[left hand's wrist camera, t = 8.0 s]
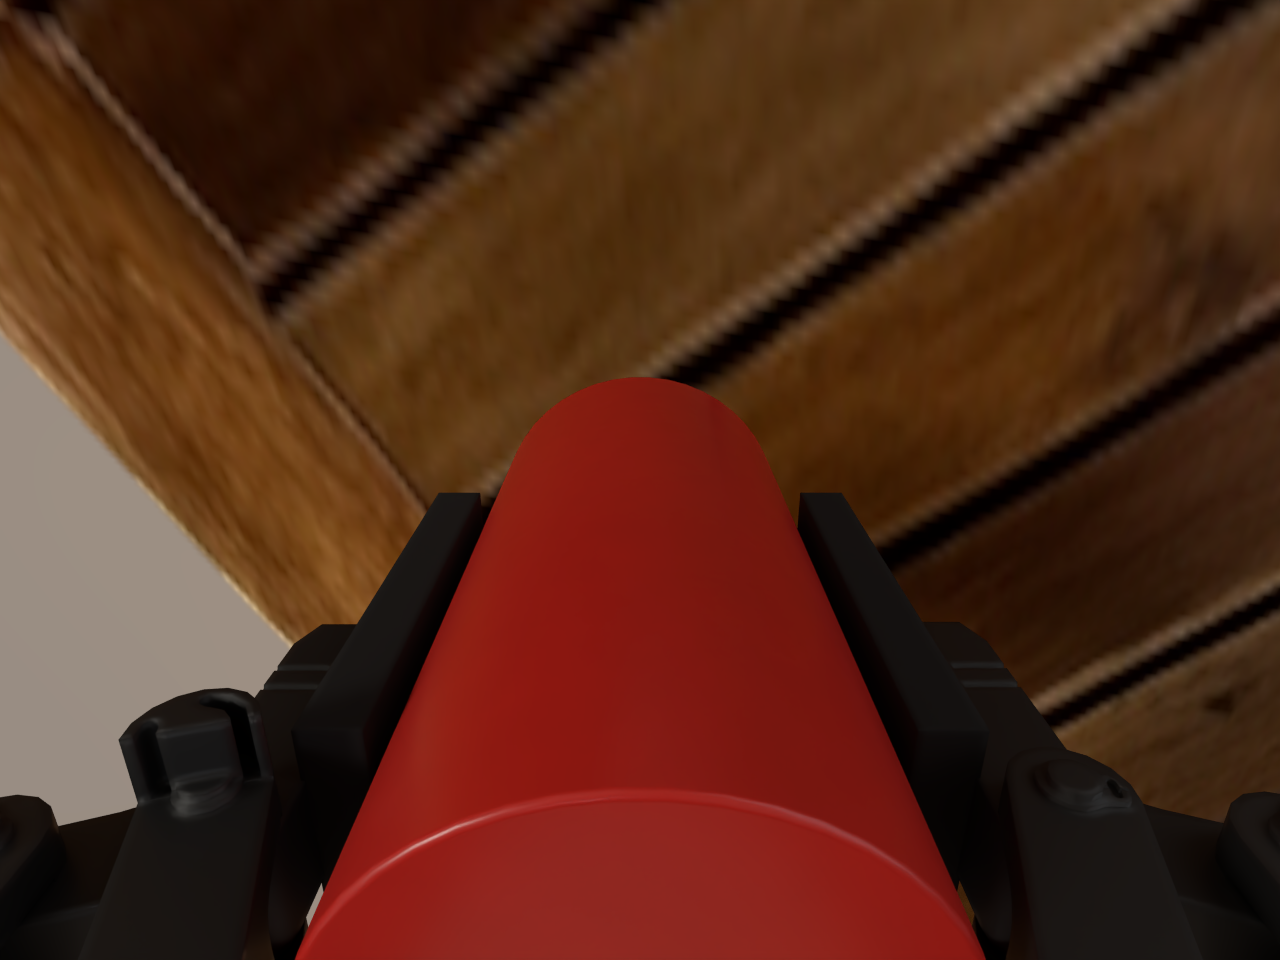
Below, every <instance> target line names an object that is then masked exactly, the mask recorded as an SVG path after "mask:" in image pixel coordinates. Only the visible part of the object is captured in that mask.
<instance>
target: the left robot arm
mask: <svg viewBox="0 0 1280 960" xmlns="http://www.w3.org/2000/svg"><path fill="white" fill-rule="evenodd" d="M482 530H483V522H482V510H481V498H480V493H439V494H438V495H437V497H436V498H435V500H434V502H433V503H432V505H431V506H430V508H429V510H428V511H427V513H426V514H425V516H424V518H423V519H422V521H421V523H420V524H419V526H418V527H417V529H416V531H415V532H414V534H413V535H412V537H411V539H410V540H409V542H408V543H407V545H406V547H405V548H404V550H403V551H402V553H401V555H400V556H399V558H398V559H397V561H396V563H395V564H394V566H393V567H392V569H391V571H390V572H389V574H388V575H387V577H386V579H385V580H384V582H383V583H382V585H381V587H380V588H379V590H378V591H377V593H376V595H375V596H374V598H373V599H372V601H371V603H370V604H369V606H368V607H367V609H366V611H365V612H364V614H363V615H362V617H361V619H360V620H359V622H358V623H357V624H322V625H320V626H319V627H318V628H316V629H315V630H313V631H312V632H310V633H309V634H308V635H306V636H305V637H303V638H302V639H300V640H299V641H297V642H296V643H295V644H294V645H293V646H292V647H291V649H290V650H289V652H288V653H287V654H286V656H285V657H284V658H283V660H282V661H281V662H280V664H279V665H278V670H277V671H274V672H273V673H272V675H271V676H270V677H269V679H268V680H267V682H266V683H265V684H264V689H263V690H260V691H259V693H258V694H257V695H256V697H255V698H254V697H253V696H252V695H250V694H249V693H248V692H245V691H240V690H235V689H231V688H220V689H204V690H200V691H197V692H192V693H189V694H185V695H181V696H177V697H175V698H173V699H171V700H169V701H166V702H164V703H162V704H160V705H158V706H156V707H153V708H152V709H150V710H149V711H147V712H146V713H145V714H143V715H142V716H141V717H139V718H138V719H136V720H135V721H134V722H132V723H131V724H130V726H129V727H128V728H127V730H126V731H125V732H124V734H123V735H122V736H121V737H120V739H119V743H120V746H121V749H122V753H123V756H124V759H125V763H126V766H127V769H128V772H129V776H130V779H131V782H132V785H133V789H134V792H135V795H136V798H137V802H138V804H137V807H136V808H132V809H129V810H126V811H122V812H119V813H114V814H110V815H106V816H101V817H97V818H92V819H88V820H84V821H79V822H75V823H70V824H66V825H62V826H58V825H57V822H56V819H55V817H54V814H53V811H52V808H51V806H50V805H48V804H47V803H46V802H44V801H43V800H42V799H40V798H39V797H33V796H24V795H12V796H6V797H0V960H295V958H296V955H297V952H298V950H299V948H300V945H301V943H302V941H303V939H304V936H305V934H306V932H307V929H308V924H307V920H306V916H307V914H308V912H309V910H310V907H311V905H312V903H313V901H314V898H315V896H316V894H317V892H318V889H319V887H320V885H321V883H322V887H323V892H324V891H325V888H326V886H327V884H328V881H329V879H330V877H331V875H332V872H333V870H334V868H335V866H336V863H337V861H338V859H339V856H340V854H341V852H342V850H343V847H344V845H345V843H346V840H347V838H348V836H349V834H350V831H351V829H352V827H353V824H354V822H355V820H356V818H357V815H358V813H359V811H360V809H361V806H362V804H363V802H364V799H365V797H366V795H367V793H368V790H369V788H370V786H371V783H372V781H373V779H374V777H375V774H376V772H377V770H378V767H379V765H380V763H381V761H382V758H383V756H384V754H385V751H386V749H387V747H388V745H389V742H390V740H391V738H392V736H393V733H394V731H395V729H396V726H397V724H398V722H399V720H400V717H401V715H402V713H403V710H404V708H405V706H406V704H407V701H408V699H409V697H410V694H411V692H412V690H413V688H414V685H415V683H416V681H417V678H418V676H419V674H420V672H421V669H422V667H423V665H424V663H425V660H426V658H427V656H428V653H429V651H430V649H431V647H432V644H433V642H434V640H435V637H436V635H437V633H438V631H439V628H440V626H441V624H442V621H443V619H444V617H445V615H446V612H447V610H448V608H449V606H450V603H451V601H452V599H453V596H454V594H455V592H456V590H457V587H458V585H459V583H460V580H461V578H462V576H463V574H464V571H465V569H466V567H467V564H468V562H469V560H470V558H471V555H472V553H473V551H474V548H475V546H476V544H477V542H478V539H479V537H480V535H481V533H482ZM797 530H798V532H799V534H800V536H801V539H802V541H803V543H804V546H805V548H806V550H807V552H808V555H809V557H810V559H811V561H812V564H813V566H814V568H815V571H816V573H817V575H818V577H819V580H820V582H821V584H822V586H823V589H824V591H825V593H826V596H827V598H828V600H829V602H830V605H831V607H832V609H833V611H834V614H835V616H836V618H837V621H838V623H839V625H840V627H841V630H842V632H843V634H844V637H845V639H846V641H847V643H848V646H849V648H850V650H851V652H852V655H853V657H854V659H855V662H856V664H857V666H858V668H859V671H860V673H861V675H862V677H863V680H864V682H865V684H866V687H867V689H868V691H869V693H870V696H871V698H872V700H873V702H874V705H875V707H876V709H877V712H878V714H879V716H880V718H881V721H882V723H883V725H884V727H885V730H886V732H887V734H888V737H889V739H890V741H891V743H892V746H893V748H894V750H895V753H896V755H897V757H898V759H899V762H900V764H901V766H902V768H903V771H904V773H905V775H906V778H907V780H908V782H909V784H910V787H911V789H912V791H913V793H914V796H915V798H916V800H917V803H918V805H919V807H920V809H921V812H922V814H923V816H924V818H925V821H926V823H927V825H928V828H929V830H930V832H931V834H932V837H933V839H934V841H935V843H936V846H937V848H938V850H939V853H940V855H941V857H942V859H943V862H944V864H945V866H946V869H947V871H948V873H949V875H950V878H951V880H952V882H953V884H954V887H955V889H956V891H957V889H958V884H959V880H960V882H961V885H962V887H963V889H964V891H965V893H966V896H967V898H968V900H969V902H970V905H971V907H972V909H973V911H974V913H975V915H974V919H973V924H972V928H973V930H974V932H975V934H976V937H977V939H978V941H979V944H980V946H981V948H982V950H983V953H984V956H985V958H986V960H1280V794H1277V793H1270V792H1257V793H1248V794H1243V795H1241V796H1240V797H1239V798H1237V799H1236V800H1235V801H1233V802H1232V803H1231V805H1230V807H1229V810H1228V813H1227V816H1226V818H1225V821H1224V823H1220V822H1215V821H1211V820H1207V819H1202V818H1198V817H1193V816H1189V815H1185V814H1180V813H1176V812H1171V811H1167V810H1162V809H1159V808H1156V807H1152V806H1149V805H1145V804H1143V803H1142V801H1141V800H1140V798H1139V797H1138V795H1137V794H1136V792H1135V791H1134V789H1133V787H1132V786H1131V784H1129V783H1128V782H1127V781H1126V780H1124V779H1123V778H1122V777H1121V776H1120V775H1118V774H1117V773H1116V772H1115V771H1114V770H1112V769H1111V768H1109V767H1108V766H1106V765H1104V764H1102V763H1100V762H1098V761H1096V760H1094V759H1092V758H1090V757H1088V756H1086V755H1083V754H1079V753H1076V752H1072V751H1069V750H1067V749H1066V748H1065V747H1064V745H1063V744H1062V743H1061V741H1060V740H1059V739H1058V737H1057V736H1056V735H1055V733H1054V732H1053V730H1052V729H1051V728H1050V726H1049V725H1048V724H1047V722H1046V721H1045V720H1044V718H1043V717H1042V716H1041V714H1040V713H1039V711H1038V710H1037V709H1036V707H1035V706H1034V705H1033V703H1032V702H1031V701H1030V699H1029V698H1028V697H1027V695H1026V694H1025V692H1024V691H1023V690H1022V688H1021V687H1017V682H1016V680H1015V679H1014V678H1013V676H1012V675H1011V673H1010V672H1009V671H1008V669H1007V668H1004V667H1003V663H1002V661H1001V660H1000V658H999V657H998V656H997V654H996V653H995V652H994V650H993V649H992V648H991V646H990V645H989V644H988V642H987V641H986V640H984V639H983V638H981V637H980V636H978V635H977V634H975V633H974V632H973V631H971V630H970V629H968V628H967V627H965V626H964V625H962V624H961V623H960V622H922V621H921V619H920V618H919V616H918V615H917V613H916V611H915V610H914V608H913V607H912V605H911V603H910V602H909V600H908V599H907V597H906V595H905V594H904V592H903V591H902V589H901V587H900V586H899V584H898V583H897V581H896V579H895V578H894V576H893V575H892V573H891V571H890V570H889V568H888V567H887V565H886V563H885V562H884V560H883V558H882V557H881V555H880V554H879V552H878V550H877V549H876V547H875V546H874V544H873V542H872V541H871V539H870V538H869V536H868V534H867V533H866V531H865V530H864V528H863V526H862V525H861V523H860V522H859V520H858V518H857V517H856V515H855V514H854V512H853V510H852V509H851V507H850V506H849V504H848V502H847V501H846V499H845V498H844V496H843V494H842V493H800V504H799V516H798V529H797Z"/></svg>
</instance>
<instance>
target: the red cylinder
mask: <svg viewBox="0 0 1280 960" xmlns="http://www.w3.org/2000/svg"><path fill="white" fill-rule="evenodd" d="M295 960H986V958H985V956H984V953H983V950H982V948H981V946H980V944H979V941H978V939H977V937H976V934H975V932H974V930H973V928H972V925H971V923H970V921H969V919H968V916H967V914H966V912H965V909H964V907H963V905H962V903H961V900H960V898H959V896H958V894H957V891H956V889H955V887H954V884H953V882H952V880H951V878H950V875H949V873H948V871H947V869H946V866H945V864H944V862H943V859H942V857H941V855H940V853H939V850H938V848H937V846H936V843H935V841H934V839H933V837H932V834H931V832H930V830H929V828H928V825H927V823H926V821H925V818H924V816H923V814H922V812H921V809H920V807H919V805H918V803H917V800H916V798H915V796H914V793H913V791H912V789H911V787H910V784H909V782H908V780H907V778H906V775H905V773H904V771H903V768H902V766H901V764H900V762H899V759H898V757H897V755H896V753H895V750H894V748H893V746H892V743H891V741H890V739H889V737H888V734H887V732H886V730H885V727H884V725H883V723H882V721H881V718H880V716H879V714H878V712H877V709H876V707H875V705H874V702H873V700H872V698H871V696H870V693H869V691H868V689H867V687H866V684H865V682H864V680H863V677H862V675H861V673H860V671H859V668H858V666H857V664H856V662H855V659H854V657H853V655H852V652H851V650H850V648H849V646H848V643H847V641H846V639H845V637H844V634H843V632H842V630H841V627H840V625H839V623H838V621H837V618H836V616H835V614H834V611H833V609H832V607H831V605H830V602H829V600H828V598H827V596H826V593H825V591H824V589H823V586H822V584H821V582H820V580H819V577H818V575H817V573H816V571H815V568H814V566H813V564H812V561H811V559H810V557H809V555H808V552H807V550H806V548H805V546H804V543H803V541H802V539H801V536H800V534H799V532H798V530H797V527H796V525H795V523H794V521H793V518H792V516H791V514H790V511H789V509H788V507H787V505H786V502H785V500H784V498H783V495H782V493H781V491H780V489H779V486H778V484H777V482H776V480H775V477H774V475H773V473H772V470H771V468H770V466H769V464H768V461H767V459H766V457H765V455H764V452H763V450H762V449H761V447H760V445H759V443H758V441H757V440H756V438H755V436H754V435H753V434H752V432H751V431H750V430H749V428H748V427H747V426H746V424H745V423H744V422H743V421H742V420H741V419H740V418H739V417H738V416H737V415H736V414H735V413H734V412H733V411H732V410H730V409H729V408H728V407H726V406H725V405H724V404H723V403H721V402H720V401H719V400H717V399H715V398H713V397H712V396H710V395H708V394H706V393H705V392H703V391H700V390H698V389H696V388H693V387H691V386H688V385H686V384H682V383H678V382H674V381H670V380H665V379H658V378H650V377H630V378H623V379H615V380H610V381H606V382H602V383H598V384H594V385H592V386H590V387H587V388H585V389H582V390H580V391H577V392H576V393H574V394H572V395H570V396H569V397H567V398H565V399H563V400H562V401H560V402H559V403H558V404H556V405H555V406H554V407H552V408H551V409H550V410H548V411H547V412H546V413H545V414H544V415H543V416H542V417H541V418H540V419H539V420H538V421H537V422H536V423H535V425H534V426H533V427H532V429H531V430H530V431H529V433H528V434H527V435H526V437H525V438H524V440H523V442H522V444H521V445H520V447H519V449H518V451H517V453H516V455H515V457H514V460H513V462H512V464H511V466H510V469H509V471H508V473H507V476H506V478H505V480H504V482H503V485H502V487H501V489H500V491H499V494H498V496H497V498H496V501H495V503H494V505H493V507H492V510H491V512H490V514H489V517H488V519H487V521H486V523H485V526H484V528H483V530H482V533H481V535H480V537H479V539H478V542H477V544H476V546H475V548H474V551H473V553H472V555H471V558H470V560H469V562H468V564H467V567H466V569H465V571H464V574H463V576H462V578H461V580H460V583H459V585H458V587H457V590H456V592H455V594H454V596H453V599H452V601H451V603H450V606H449V608H448V610H447V612H446V615H445V617H444V619H443V621H442V624H441V626H440V628H439V631H438V633H437V635H436V637H435V640H434V642H433V644H432V647H431V649H430V651H429V653H428V656H427V658H426V660H425V663H424V665H423V667H422V669H421V672H420V674H419V676H418V678H417V681H416V683H415V685H414V688H413V690H412V692H411V694H410V697H409V699H408V701H407V704H406V706H405V708H404V710H403V713H402V715H401V717H400V720H399V722H398V724H397V726H396V729H395V731H394V733H393V736H392V738H391V740H390V742H389V745H388V747H387V749H386V751H385V754H384V756H383V758H382V761H381V763H380V765H379V767H378V770H377V772H376V774H375V777H374V779H373V781H372V783H371V786H370V788H369V790H368V793H367V795H366V797H365V799H364V802H363V804H362V806H361V809H360V811H359V813H358V815H357V818H356V820H355V822H354V824H353V827H352V829H351V831H350V834H349V836H348V838H347V840H346V843H345V845H344V847H343V850H342V852H341V854H340V856H339V859H338V861H337V863H336V866H335V868H334V870H333V872H332V875H331V877H330V879H329V881H328V884H327V886H326V888H325V891H324V893H323V895H322V897H321V900H320V902H319V904H318V907H317V909H316V911H315V914H314V916H313V918H312V920H311V923H310V925H309V927H308V929H307V932H306V934H305V936H304V939H303V941H302V943H301V945H300V948H299V950H298V952H297V955H296V958H295Z"/></svg>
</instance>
